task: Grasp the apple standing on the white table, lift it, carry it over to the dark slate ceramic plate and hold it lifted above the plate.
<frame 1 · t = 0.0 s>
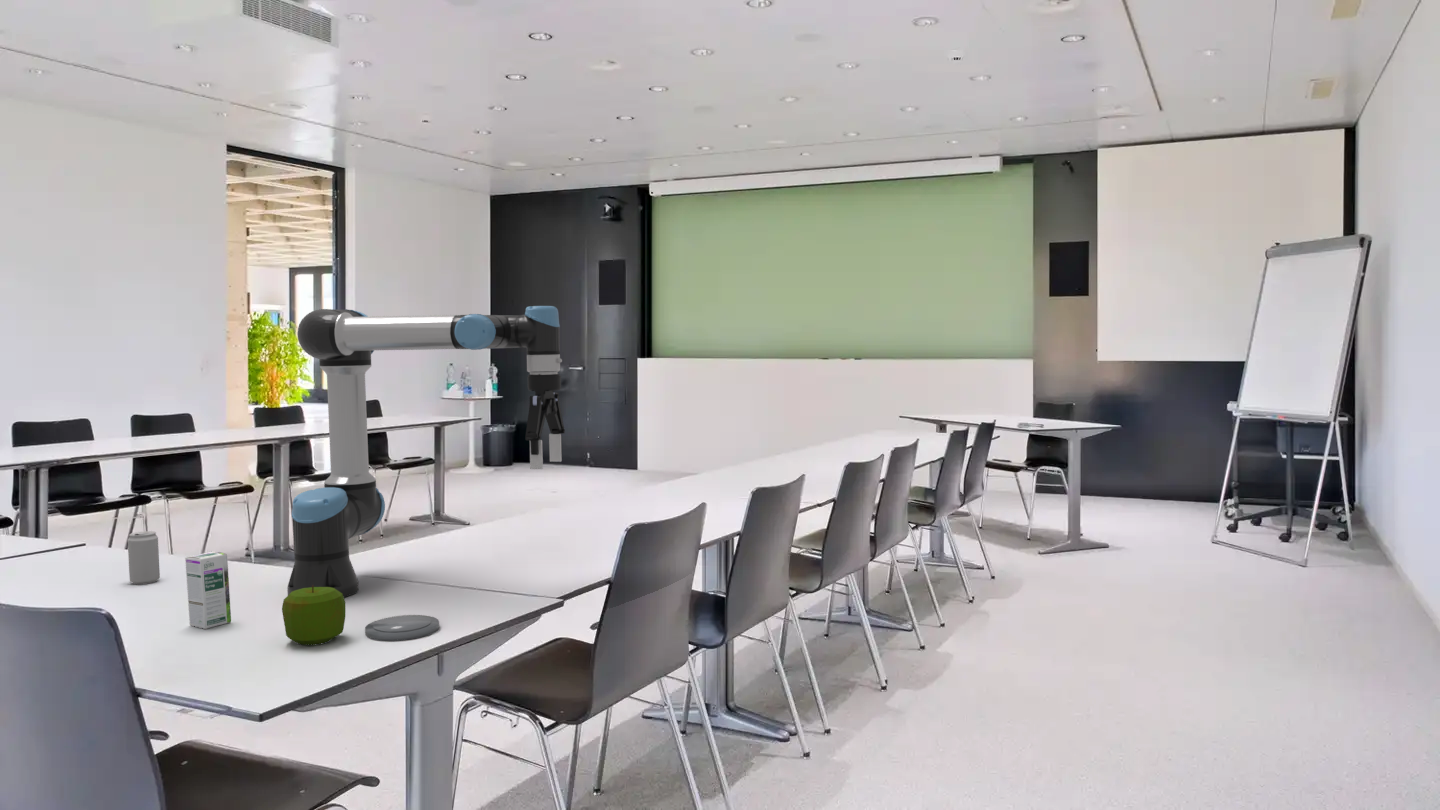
hand: (546, 465, 239), 28 cm above the table, fingers open, 13 cm apart
syrup box: (210, 625, 211), on the table
slate plate: (402, 630, 204), on the table
apple: (315, 641, 199), on the table
beverage can: (145, 582, 249), on the table
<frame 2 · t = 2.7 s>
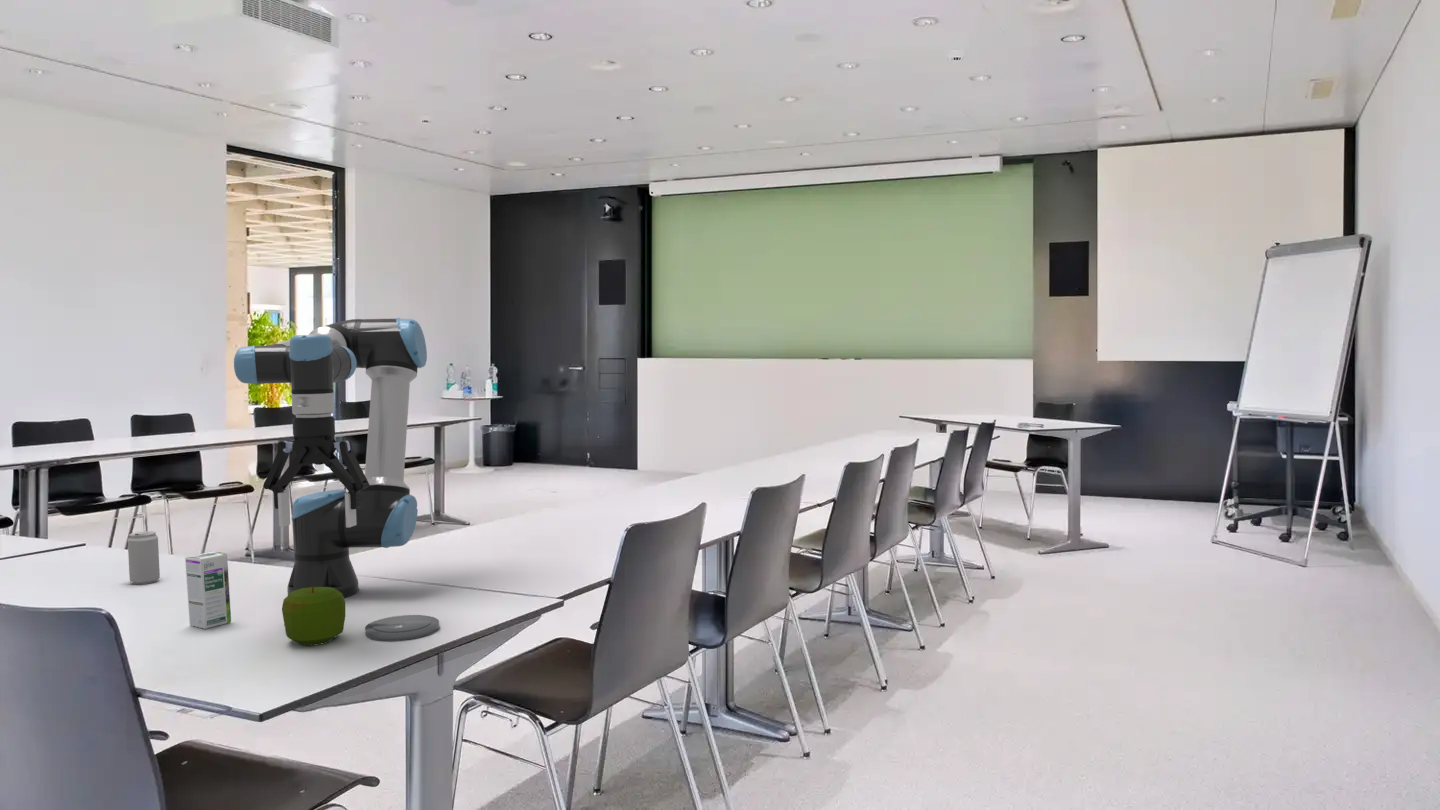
hand: (317, 526, 198), 22 cm above the table, fingers open, 13 cm apart
nothing on the table moved.
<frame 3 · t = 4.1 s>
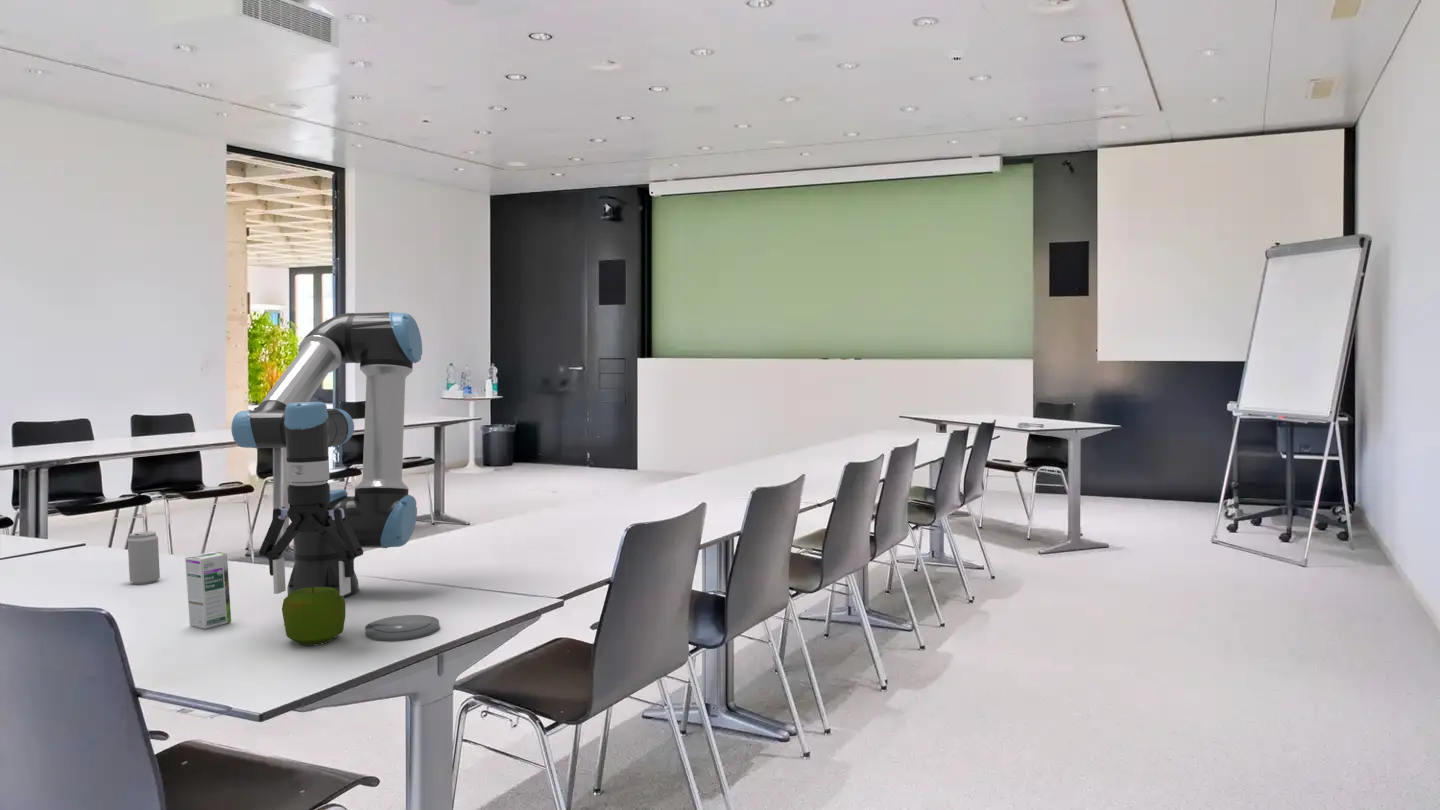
hand: (312, 593, 198), 9 cm above the table, fingers open, 13 cm apart
nothing on the table moved.
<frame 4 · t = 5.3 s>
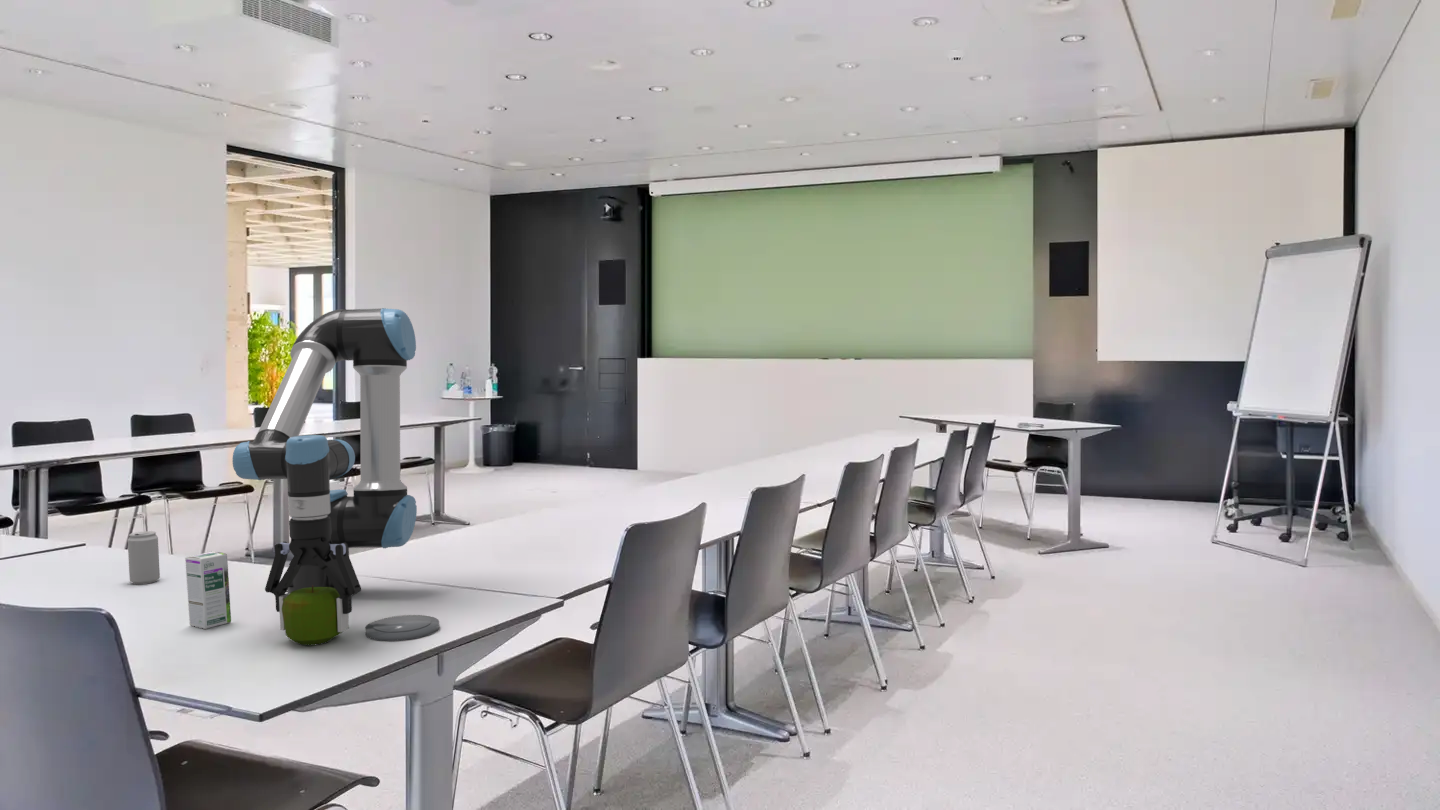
hand: (314, 629, 199), 2 cm above the table, fingers closed on apple, 11 cm apart
apple: (315, 641, 199), on the table, touching gripper
everything else where it was.
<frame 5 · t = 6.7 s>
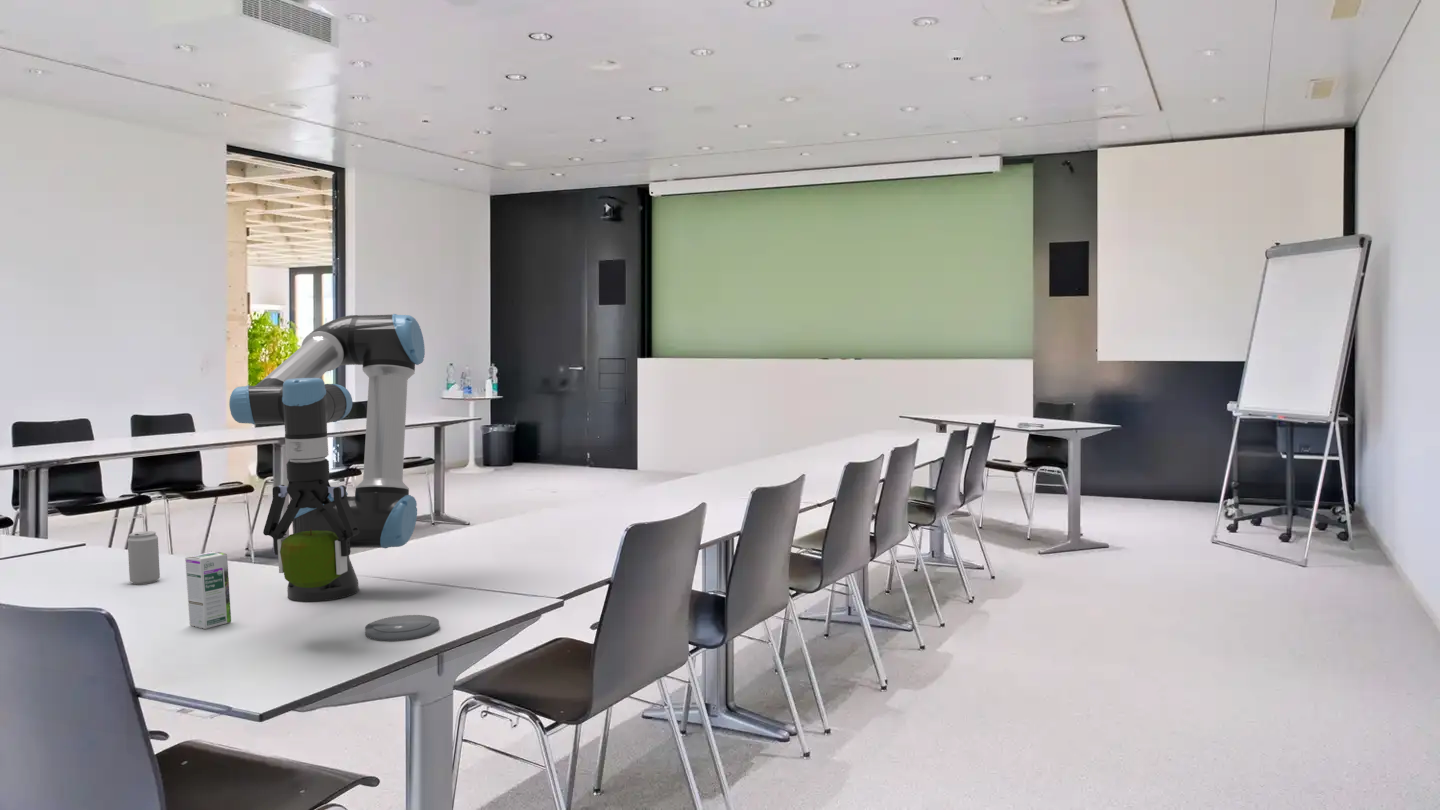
hand: (313, 572, 198), 13 cm above the table, fingers closed on apple, 11 cm apart
apple: (314, 584, 199), point 11 cm above the table, touching gripper
everything else where it was.
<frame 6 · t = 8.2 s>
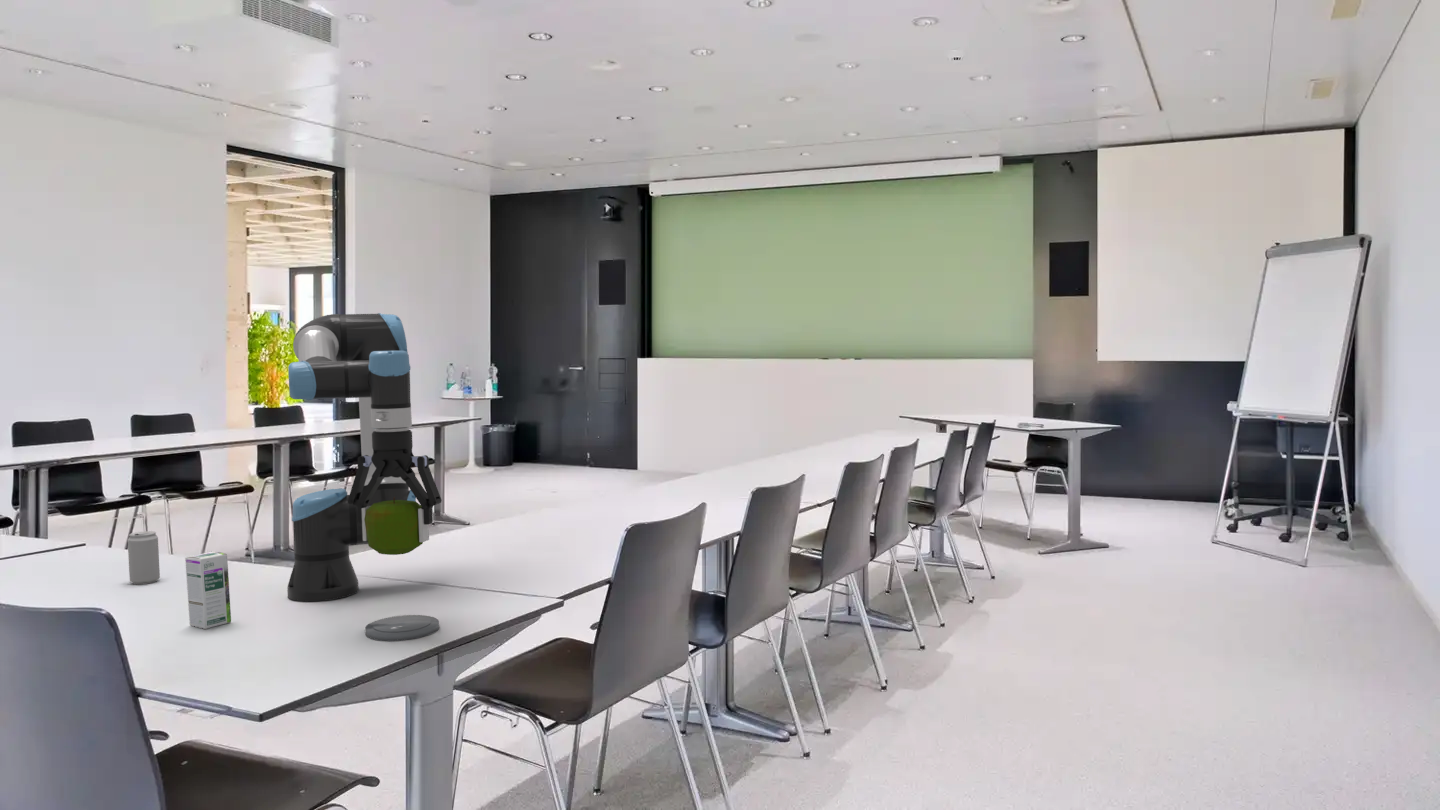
hand: (396, 540, 203), 18 cm above the table, fingers closed on apple, 11 cm apart
apple: (396, 552, 203), point 16 cm above the table, touching gripper
everything else where it was.
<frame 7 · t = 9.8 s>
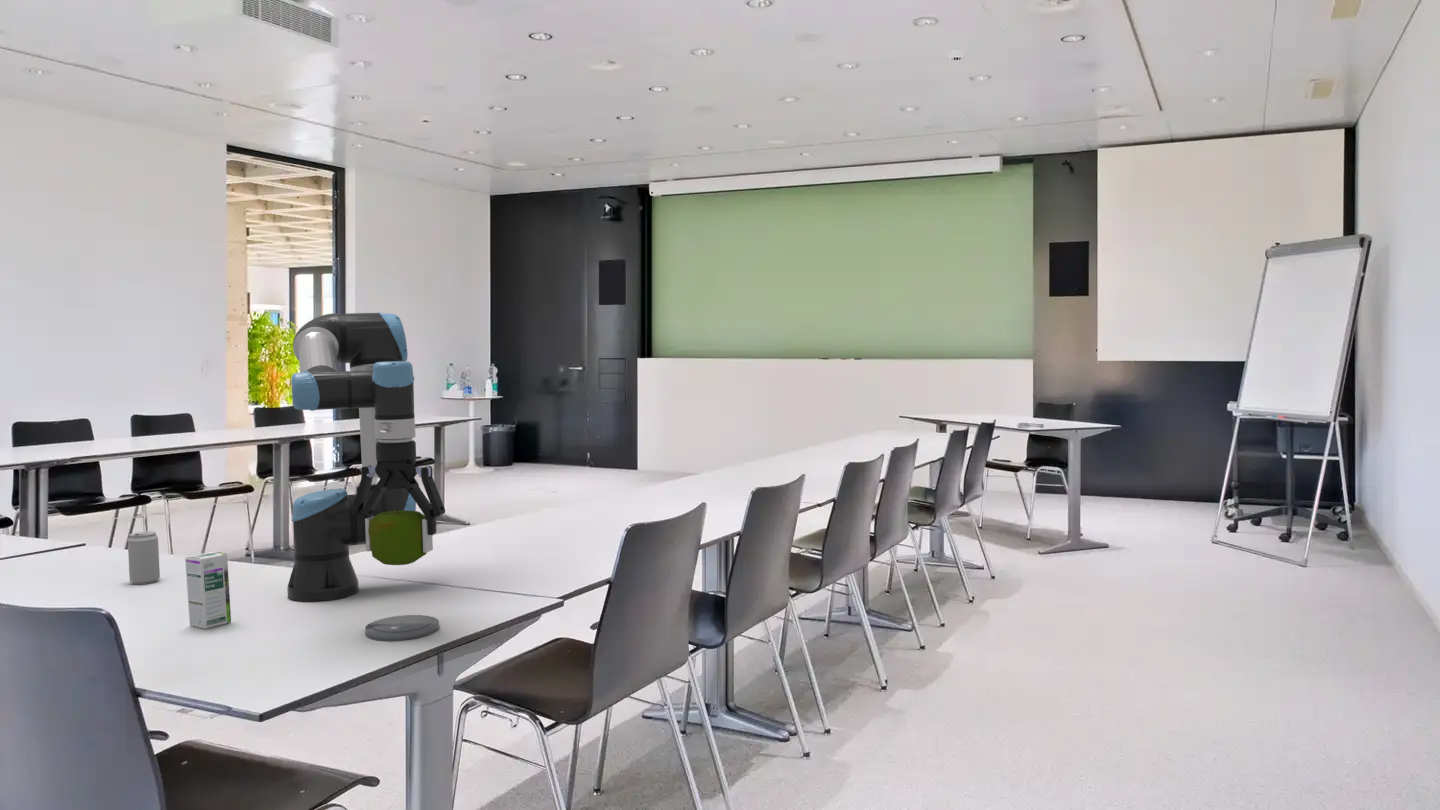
hand: (399, 550, 203), 16 cm above the table, fingers closed on apple, 11 cm apart
apple: (399, 562, 204), point 14 cm above the table, touching gripper
everything else where it was.
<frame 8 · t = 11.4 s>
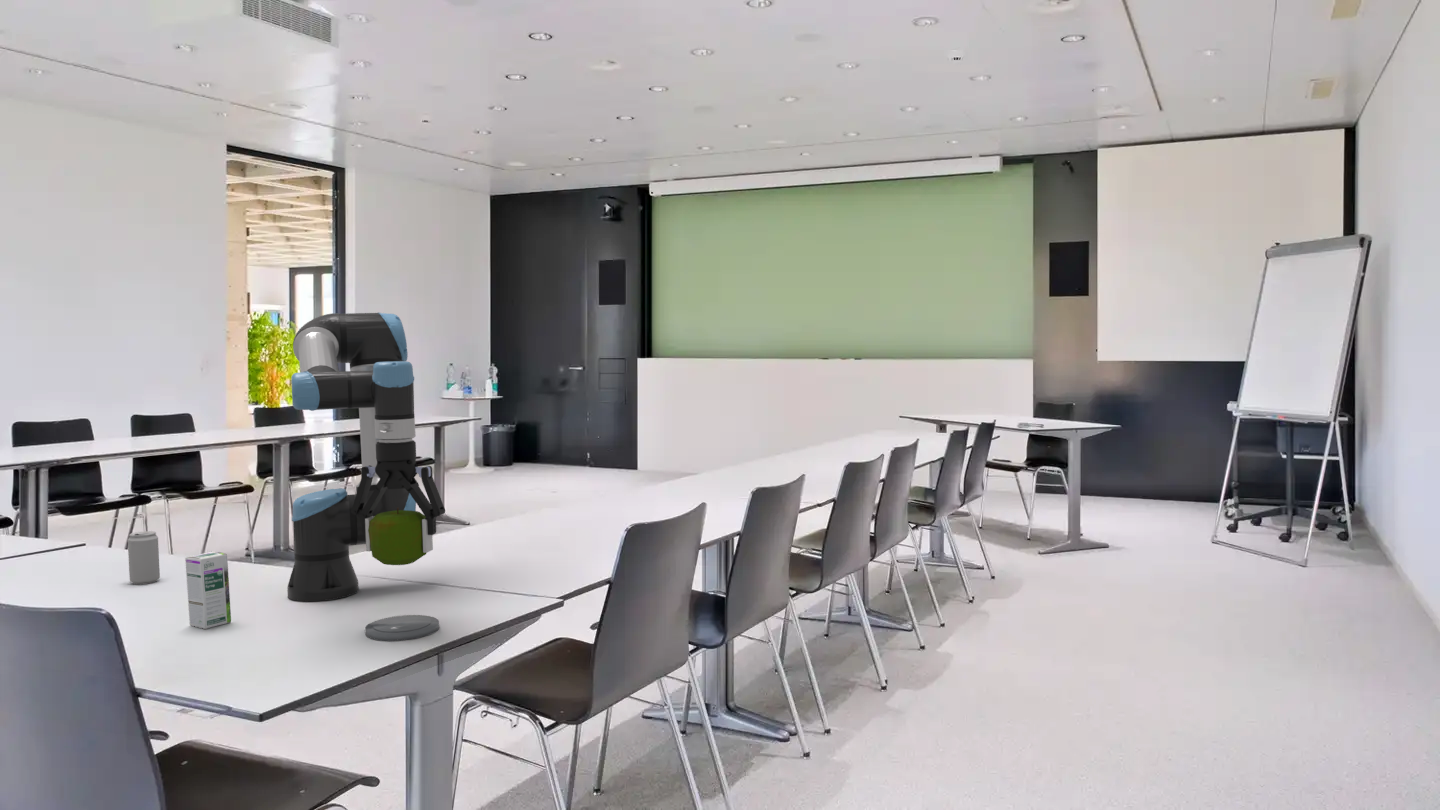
hand: (399, 550, 203), 16 cm above the table, fingers closed on apple, 11 cm apart
apple: (399, 562, 204), point 14 cm above the table, touching gripper
everything else where it was.
at the end: the gripper is holding apple; apple point 13.6 cm above the table; apple 0.1 cm from the slate plate (horizontally) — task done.
